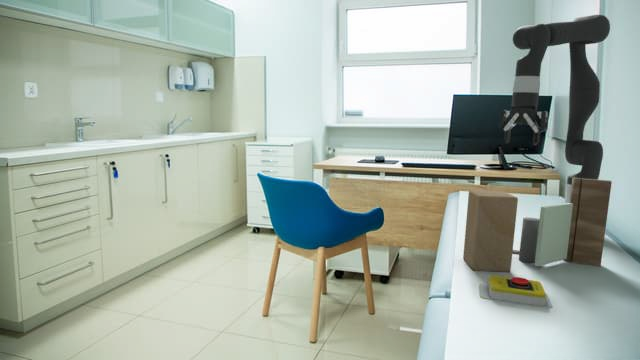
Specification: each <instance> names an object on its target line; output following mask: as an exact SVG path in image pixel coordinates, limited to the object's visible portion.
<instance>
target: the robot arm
mask: <svg viewBox="0 0 640 360" xmlns="http://www.w3.org/2000/svg"><path fill="white" fill-rule="evenodd" d="M610 31H611V24H610V20H609V18H608V17H607V16H605V15H603V14H592V15H587V16H580V17H576V18H574V19H572V21H559V22H557V21H556V22H549V23H536V24H528V25H523V26H520V27H518V28H517V29H516V30H515V31H514V33H513V34H512V43H513V45H514V47H515V48H517V49H518V50H522V51H523V50H529V52H528V53H527V54H526V55H525V56H522V57H519V58H518V59H517V61H516V66H515V74H514V75H515V76H514V81H513V87H512V97H511V109H510V110H506V109H501V110H500V115H499V122H498V129H500V130H503V141H504V143H505V144H510V143H511V142H510V141H511V134H512V131H511V129H513V127H515V126H516V125H525V126H528V125H529V126H530V128H531V129H532V131H534V132H533V135H532V144H531V145H533V146H537V145H538V144H539V143H540V138H541V133H542V132H546V131H548V127H549V126H548V125H549V123H548V121H549V112H548V111H547V110H541V111H538V107H539V97H540V87H541V70H542V69H541V68H542V62H543V60H544V58H545V55H546V52H547V49H548V47H553V46H560V45H566V44H568V45H569V60H570V61H569V65H570V66H569V67H570V69H569V71H570V74H569V77H570V79H569V90H568V91H569V92H568V95H569V97H568V99H569V100H568V104H569V105H568V106H569V107H568V124H567V125H568V126H567V133H566V140H565V147H564V148H565V149H564V155H565V160H566V162H567V163H568V164H569V165H573V166H581V170H580V171H578V172H577V173H575V174H570V175H568V176H567V179H566V186H565V187H566V189H565V195H564V196H565V197H564V203H570V195H571V186H572V178H585V179H597V180H599V177H600V173H601V168H602V162H603V157H604V148H603V145H602V143H601V142H600V141H597V140H590V139H584V131H585V126H586V124H587V122H588V120H589V119H590V117H591V116H592V115H593V114H594V112H595V110H596V108H597V107H598V106H599V103H600V92H601V89H600V88H601V86H600V80H599V79H600V78H598V76H597V74H596V73H595V70H594V69H593V68H592V67H591V65H590V63H589V60H588V57H587V52H586V45H591V44H592V45H593V44H598V43H601V42H603V41H604V40H606V39H607V38H608V37H609V34H610ZM509 116H510V117H511V119H510V120H509V121H508V122H507V119H508V118H509ZM537 117H539V119H540V126H539V123H538V122H537V120H536V118H537Z"/></svg>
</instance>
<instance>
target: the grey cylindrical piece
mask: <svg viewBox="0 0 640 360" xmlns="http://www.w3.org/2000/svg"><path fill="white" fill-rule="evenodd" d="M539 220H540V218H535V217H523V218H522V224H521V225H522V226H521V234H520V235H521V237H520V244H519V245H520V246H519V251H520V253H519V254H518V261H520V262H522V263H525V264H534V265H535V256H536V247H537V238H538V235H536V231H537V229H538V228H539Z"/></svg>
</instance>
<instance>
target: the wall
mask: <svg viewBox="0 0 640 360" xmlns="http://www.w3.org/2000/svg"><path fill="white" fill-rule="evenodd" d="M612 184H613V183H612V180H607V179H606V180H605V179H598V180H597V179H585V178H572V186H571V195H570V203H573V209H572V217H571V226H570V234H569V242H568V250H567V259H564V260H562V261H563V262H568V263H573V264H574V263H576V264H581V265H589V266H593V267H594V266H595V267H602V266H601V265H602V258H603V251H604V242H605V238H606V237H605V236H606V227H607V221H608V211H609V205H610V199H611V197H610V196H611V191H612V190H611V189H612ZM519 253H520V250H515V249H513V252H512V254H517V255H519Z"/></svg>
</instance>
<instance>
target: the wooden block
mask: <svg viewBox="0 0 640 360" xmlns="http://www.w3.org/2000/svg"><path fill="white" fill-rule="evenodd" d="M518 201H519V198H518V197H517V196H515V195H513V194H510V193H509V192H506V191H505V190H485V189H470V190H468V199H467V210H466V211H467V212H466V222H465V223H466V224H465V232H464V233H465V234H464V243H463V244H464V245H463V247H464V248H463V256H462V258H463V260H464V262H465V263H466V264H467V265H468V266H469V267H470V269H472V270H473V271H484V272H500V273H501V272H502V273H510V272H511V269H512V261H513V253H512V252H513V250H514V241H515V230H516V222H517V221H516V220H517V212H518V211H517V210H518Z"/></svg>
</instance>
